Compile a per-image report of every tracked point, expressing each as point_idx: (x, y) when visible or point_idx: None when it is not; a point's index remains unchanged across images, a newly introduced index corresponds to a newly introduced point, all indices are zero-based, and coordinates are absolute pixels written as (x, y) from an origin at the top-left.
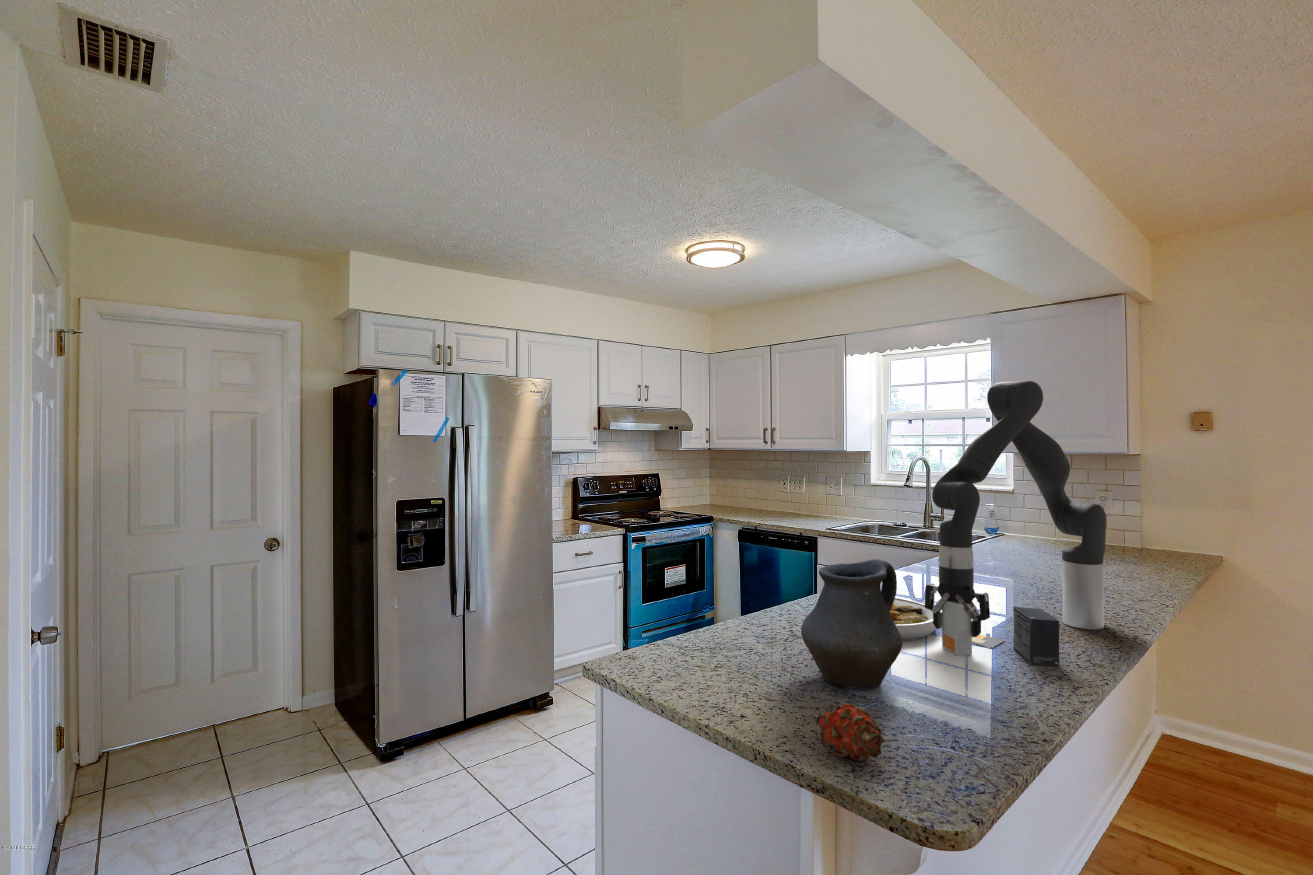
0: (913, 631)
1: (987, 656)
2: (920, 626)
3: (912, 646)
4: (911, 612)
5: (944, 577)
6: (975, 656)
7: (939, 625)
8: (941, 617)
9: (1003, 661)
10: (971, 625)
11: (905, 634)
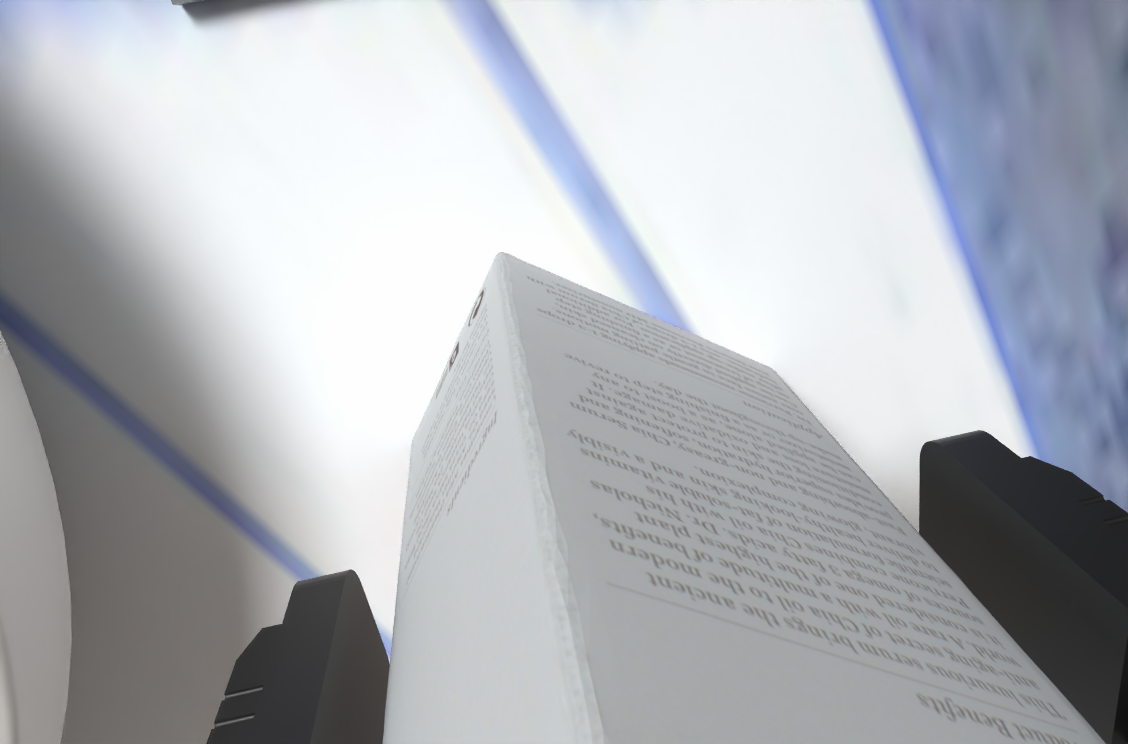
0: (64, 703)
1: (909, 256)
2: (37, 657)
3: (230, 676)
4: None
5: None
6: (817, 375)
7: (374, 676)
8: (324, 718)
9: (1094, 252)
10: (990, 619)
11: None
